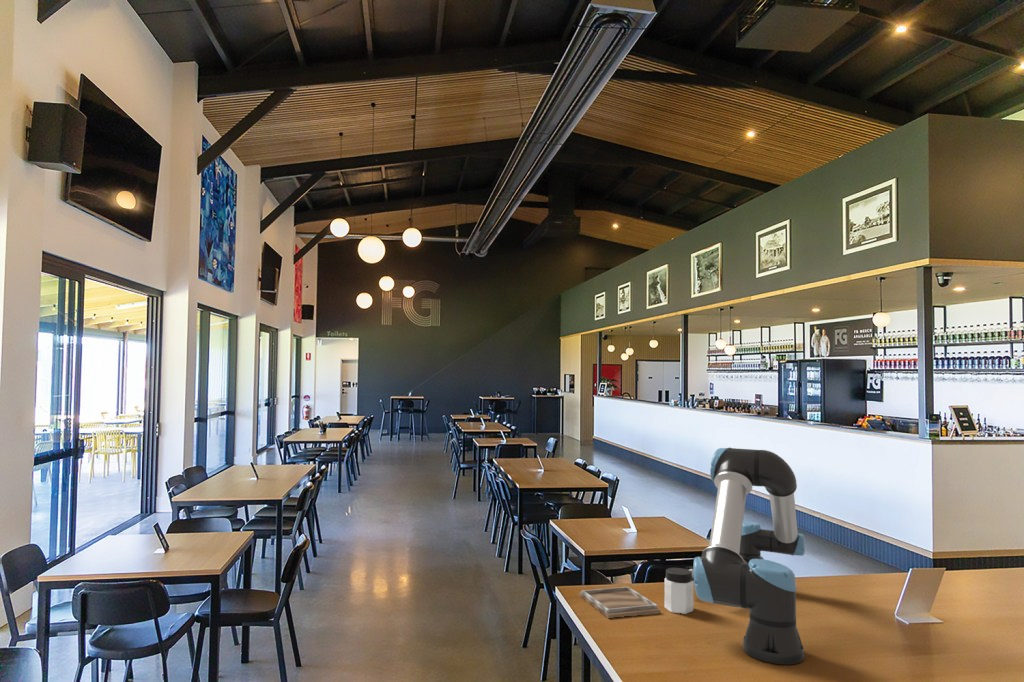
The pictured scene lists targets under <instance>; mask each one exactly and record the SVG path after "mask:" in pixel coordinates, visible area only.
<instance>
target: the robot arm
mask: <svg viewBox="0 0 1024 682" xmlns="http://www.w3.org/2000/svg"><path fill="white" fill-rule="evenodd" d="M709 471H710V474H709V475H710V479H711V481H712V482H713V483H714V486H715V487H716V489H717V493H716V499H715V505H714V511H713V516H712V517H713V518H712V525H711V531H710V537H709V543H708V547H705V548H704V549H703V550H702V552H701V556H695V557H694V559H693V566H686V567H685V569H687V570H690V571H691V572H692V579H693V587H694V592H695V594H696V596H697V598H698V599H699V600H700V601H702V602H706V603H711V604H713V605H714V604H717V605H720V606H721V605H723V606H728V607H732V608H733V607H734V608H740V609H746V610H749V621H748V623H747V627H746V631H745V635H743V636H744V637H743V638H742V639H743V640H742V647H743V648H742V649H743V652H745V654H747V655H749V656H750V657H751V658H754V659H757V660H759V661H762V662H764V663H765V662H766V663H769V664H775V665H785V666H789V665H798V664H800V663H802V662H804V660H805V648H804V646H803V644H802V640H801V636H800V633H799V630H798V628H797V627H798V626H797V601H796V600H797V599H796V598H797V595H796V593H797V586H796V585H797V584H796V576H795V573H794V571H793V570H792V569H791V568H789V567H788V566H786V565H784V564H782V563H780V562H775V561H773V560H770V559H769V560H768V559H764V557H763V556H762V555H761V554H762V553H761V552H767V553H777V554H782V555H788V556H789V555H790V556H799V557H801V556H804V555H805V553H806V538H805V535H804V534H803V533H799V532H798V523H797V513H796V512H797V511H796V501H795V499H796V498H795V492H796V490H797V487H798V485H797V478H796V475H795V473H794V471H793V470H792V467H791V466H790V465H789V464H788V462H787V461H786V460H785V459H783V457H781V456H780V455H778V454H776V453H775V452H772V451H770V450H766V449H750V448H749V449H748V448H734V447H733V448H732V447H721V448H720V447H719V448H717V449H716V450H715V451H714V453H713V454H712V457H711V462H710V470H709ZM753 487H764V488H765V490H766V492H767V493H768V494H769V503H770V509H771V517H772V525H773V530H770V529H763V528H762V527H761V524H760V523H758V522H755V521H745V520H744V516H745V508H746V500H747V496H748V494H750V493H751V492H752V490H753Z"/></svg>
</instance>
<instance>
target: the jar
mask: <svg viewBox="0 0 1024 682" xmlns="http://www.w3.org/2000/svg"><path fill="white" fill-rule="evenodd" d="M664 609H666V610H668V611H669V612H670V613H671V614H680V613H681V615H683V614H684V615H687V614H689V613H691V612H693V611H694V580H693V578H692V572H691V571H690V570H687V569H686V568H682V567H669V568H666V569H665V578H664Z"/></svg>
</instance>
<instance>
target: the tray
mask: <svg viewBox="0 0 1024 682" xmlns="http://www.w3.org/2000/svg"><path fill="white" fill-rule="evenodd" d="M578 596H579V597H580V598H581V597H582V598H581V599H583V600H584V599H585V600H586V601H587V602H586V601H585V600H584V601H585V602H586V603H587V604H589V603H590V604H591V605H592V607H593V606H594V607H595V608H596V609H597V611H598V610H599V611H600V612H601V613H600V612H599V611H598V612H599V613H600V614H601V615H603V614H604V615H605V616H606V618H607V619H608V618H612V619H614V618H613V617H622V618H624V617H623V616H632V617H638V616H637V615H642V616H649V615H650V616H651V614H652V615H660V614H661V609H660V608H658V604H656V603H655V602H653V601H652V600H650V599H648V598H647V597H645V596H644V595H643V594H641V593H639V592H638V591H636V590H635V589H633V588H631V587H630V586H621V587H619V586H618V587H606V588H594V589H584V590H583V589H582V590H580V591H579V592H578ZM590 604H589V605H590ZM591 605H590V606H591ZM594 607H593V608H594ZM595 608H594V609H595ZM596 609H595V610H596ZM604 615H603V616H604ZM605 616H604V617H605Z"/></svg>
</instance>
